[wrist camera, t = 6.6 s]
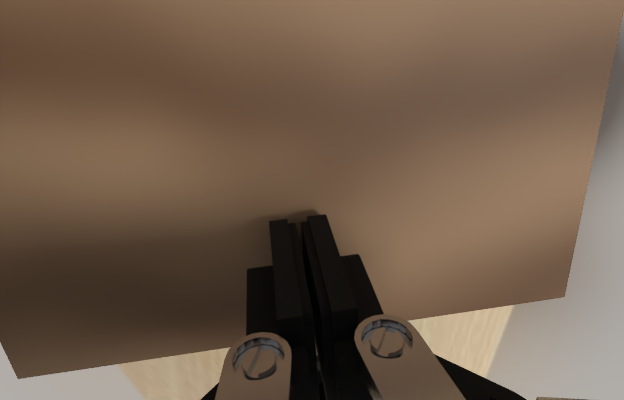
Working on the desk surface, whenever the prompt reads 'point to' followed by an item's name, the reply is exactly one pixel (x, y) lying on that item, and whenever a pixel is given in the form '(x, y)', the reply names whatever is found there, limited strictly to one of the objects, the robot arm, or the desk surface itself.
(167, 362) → the desk surface
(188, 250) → the lid
